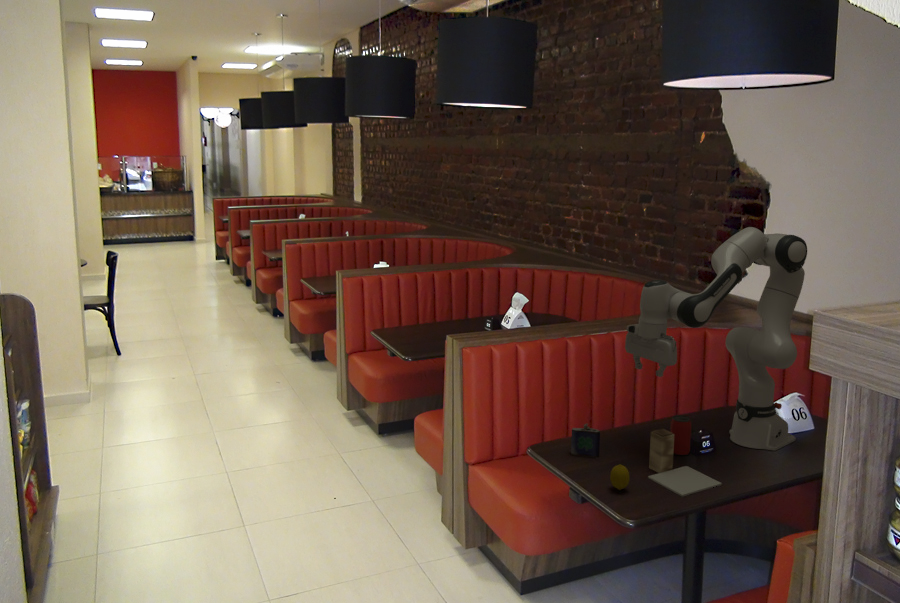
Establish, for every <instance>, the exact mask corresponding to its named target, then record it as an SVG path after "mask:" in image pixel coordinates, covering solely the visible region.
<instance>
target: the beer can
mask: <svg viewBox="0 0 900 603" xmlns="http://www.w3.org/2000/svg"><path fill="white" fill-rule="evenodd" d="M669 428H670V429H669V432H672V433H673V434H674V451H673V455H675V454H676V455H677V456H686V455H688V454H690V453H689V452H691V438H692V422H691V418H690V417H688V416H686V415H681V414H678V415H673V416H672V418H671V421H670V427H669ZM676 455H675V456H676Z"/></svg>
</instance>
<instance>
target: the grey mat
mask: <svg viewBox="0 0 900 603" xmlns="http://www.w3.org/2000/svg"><path fill="white" fill-rule="evenodd" d="M647 479H649V480H650V481H653V482H655V484H656V483H657V484H658V485H659V486H661V487H664V489H665V488H666V489H667V490H669V491H671V492H672V493H675V494H676V495H678V496H680V497H681V498H683V497H686V496H689V495H692V494H696V493H700V492H703V491H707V490H711V489H714V488H716V486H717V487H721V486H722V485H723V483H722V482H720V481H718V480H716V479H714V478H712V477H710V476H708V475H707V474H704V473H702V472H700V471H699V470H696V469H693V468H692V467H690V466H687V465H684V466H681V467H678V468H674V469H673V468H672V470H669V471H666V472H662V473H658V472H657V473H655V474H651V475H648V476H647ZM713 487H714V488H713Z"/></svg>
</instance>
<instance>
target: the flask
mask: <svg viewBox="0 0 900 603" xmlns="http://www.w3.org/2000/svg"><path fill="white" fill-rule="evenodd" d="M588 425H589V423H584V424H583V428H582V427H573V428H572V429H571V441H570V443H571V444H570V446H571V448H570V454H571V456H574V457H575V456H577V457H590V458H600V448H601V446H600V440H601V431H600V430H599V429H596V428H594V427H592V428H591V427H590V426H588Z"/></svg>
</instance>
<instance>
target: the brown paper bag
mask: <svg viewBox="0 0 900 603" xmlns="http://www.w3.org/2000/svg"><path fill="white" fill-rule="evenodd" d="M649 442H650V443H649V460H648V461H649V462H648V463H649V464H648V468H649V469H650V470H653V471H654V472H656V473H657V474H658V473H662V472H666V471H669V470H673V466H674V454H673V451H674V434H673V433H672V432H670V430H667V429H665V428H659V429H656V430H652V431H650V441H649Z"/></svg>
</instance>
